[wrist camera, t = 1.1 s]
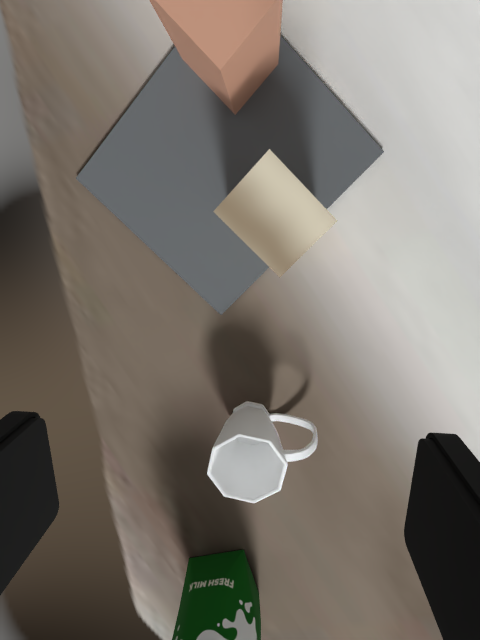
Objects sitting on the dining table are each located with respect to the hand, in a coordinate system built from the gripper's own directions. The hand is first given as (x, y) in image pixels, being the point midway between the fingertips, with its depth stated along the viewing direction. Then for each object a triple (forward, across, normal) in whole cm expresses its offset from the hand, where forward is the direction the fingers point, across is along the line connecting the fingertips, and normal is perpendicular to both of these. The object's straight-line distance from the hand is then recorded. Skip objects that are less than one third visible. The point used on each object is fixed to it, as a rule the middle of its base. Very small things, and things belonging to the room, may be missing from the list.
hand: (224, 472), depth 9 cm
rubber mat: (+27, +3, -10) cm, 29 cm away
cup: (+27, -1, +15) cm, 31 cm away
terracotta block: (+26, +3, -18) cm, 32 cm away
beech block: (+26, -1, -6) cm, 27 cm away
